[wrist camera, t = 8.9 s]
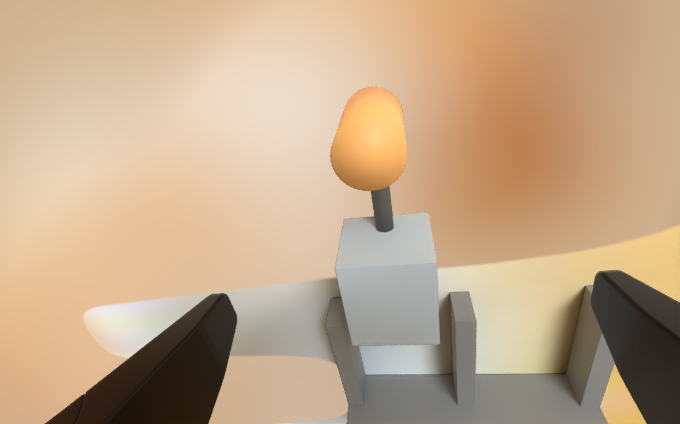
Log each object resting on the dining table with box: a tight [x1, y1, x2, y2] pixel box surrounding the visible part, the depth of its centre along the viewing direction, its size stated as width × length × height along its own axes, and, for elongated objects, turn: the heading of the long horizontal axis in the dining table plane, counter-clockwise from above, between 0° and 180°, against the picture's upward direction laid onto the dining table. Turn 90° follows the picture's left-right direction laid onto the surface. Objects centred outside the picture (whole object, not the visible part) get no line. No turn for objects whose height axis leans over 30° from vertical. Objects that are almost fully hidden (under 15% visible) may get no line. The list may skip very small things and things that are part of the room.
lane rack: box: [326, 286, 614, 424], centre depth 24 cm, size 10×18×6 cm, turn 100°
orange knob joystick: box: [330, 87, 440, 346], centre depth 19 cm, size 14×5×5 cm, turn 10°
